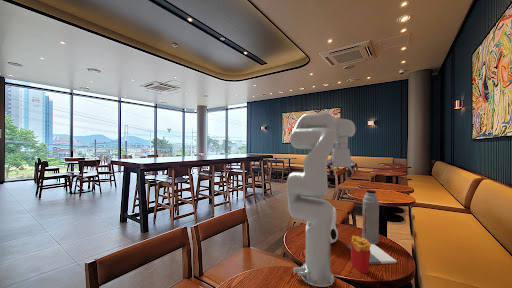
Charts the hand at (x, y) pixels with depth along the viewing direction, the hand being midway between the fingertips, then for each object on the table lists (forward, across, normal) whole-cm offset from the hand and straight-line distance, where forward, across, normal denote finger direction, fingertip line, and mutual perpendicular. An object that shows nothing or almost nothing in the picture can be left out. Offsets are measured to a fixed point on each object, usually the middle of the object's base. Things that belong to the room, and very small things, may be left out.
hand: (340, 177), depth 118 cm
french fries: (+36, -3, -26) cm, 45 cm away
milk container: (+36, -10, +1) cm, 37 cm away
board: (+35, +8, -15) cm, 39 cm away
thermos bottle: (+36, +17, -1) cm, 40 cm away
